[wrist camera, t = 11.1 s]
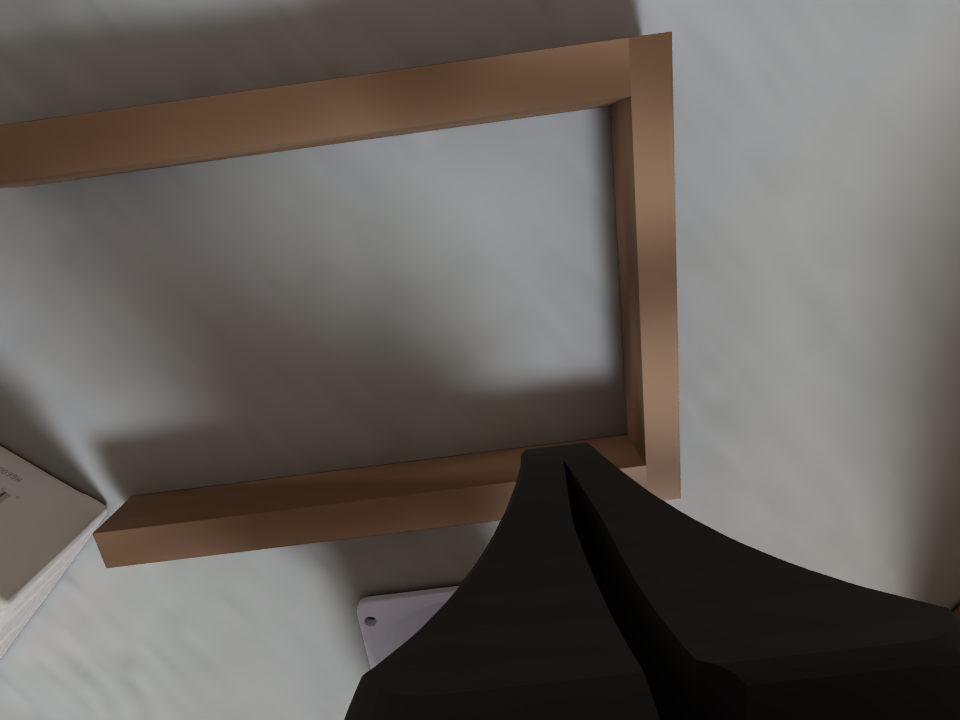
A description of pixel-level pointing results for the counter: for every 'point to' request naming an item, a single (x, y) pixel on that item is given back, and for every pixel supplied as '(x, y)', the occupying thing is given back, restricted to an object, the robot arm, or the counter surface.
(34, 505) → the small box
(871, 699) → the robot arm
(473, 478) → the open wooden frame
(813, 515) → the counter surface
